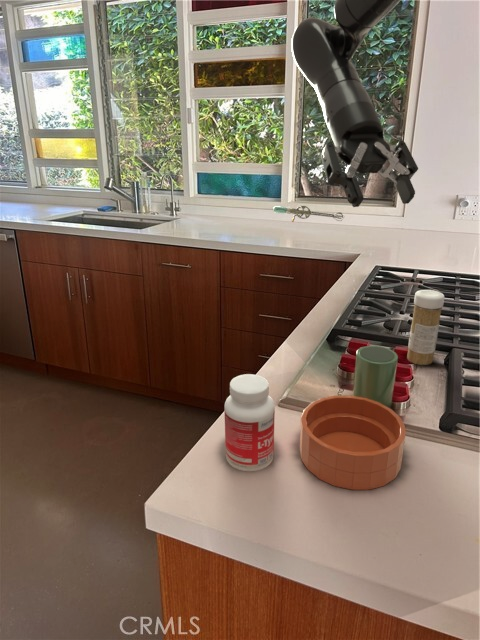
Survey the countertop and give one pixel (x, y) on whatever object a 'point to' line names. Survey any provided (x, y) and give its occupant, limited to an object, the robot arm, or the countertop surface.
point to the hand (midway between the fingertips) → (384, 202)
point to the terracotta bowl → (352, 442)
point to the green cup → (375, 374)
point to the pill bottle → (249, 423)
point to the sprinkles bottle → (424, 326)
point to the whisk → (303, 212)
